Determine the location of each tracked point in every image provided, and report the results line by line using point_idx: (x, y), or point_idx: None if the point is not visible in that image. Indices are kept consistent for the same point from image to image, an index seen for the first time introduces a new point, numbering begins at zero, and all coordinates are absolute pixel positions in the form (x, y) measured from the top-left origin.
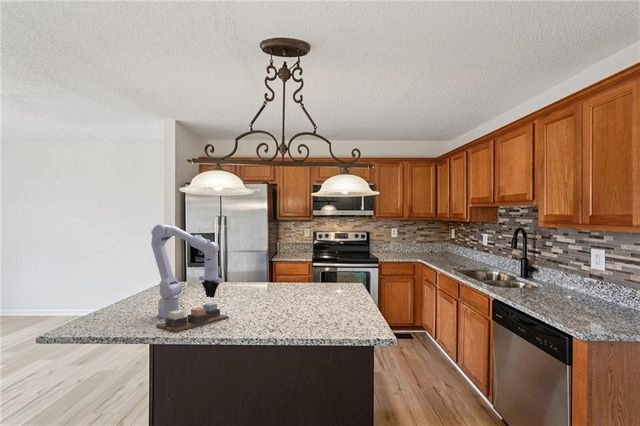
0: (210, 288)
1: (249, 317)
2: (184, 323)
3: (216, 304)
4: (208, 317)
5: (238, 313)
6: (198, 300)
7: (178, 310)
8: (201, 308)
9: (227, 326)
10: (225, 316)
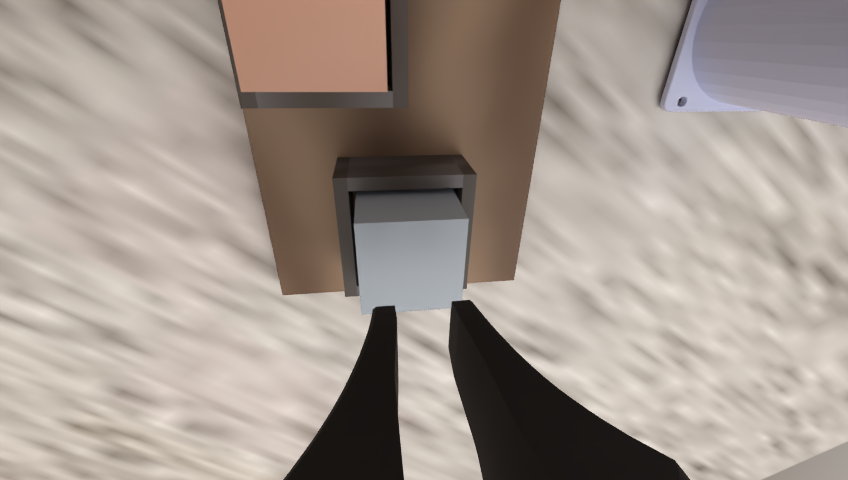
0: (333, 425)
1: (214, 376)
2: None
3: (361, 304)
4: (348, 159)
5: None
6: (780, 387)
7: None
8: (296, 60)
9: (50, 142)
10: (292, 276)
